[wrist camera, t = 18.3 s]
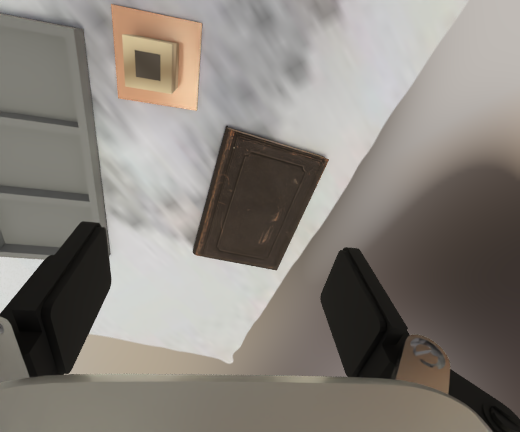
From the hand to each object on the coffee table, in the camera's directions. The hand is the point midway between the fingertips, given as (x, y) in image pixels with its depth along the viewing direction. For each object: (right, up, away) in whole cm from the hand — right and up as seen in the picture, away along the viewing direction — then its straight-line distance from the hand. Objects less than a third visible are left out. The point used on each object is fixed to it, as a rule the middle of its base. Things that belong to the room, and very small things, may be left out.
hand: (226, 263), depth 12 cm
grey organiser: (-31, +10, +29) cm, 43 cm away
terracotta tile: (-11, +21, +24) cm, 34 cm away
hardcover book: (0, +4, +37) cm, 38 cm away
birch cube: (-11, +21, +24) cm, 34 cm away
